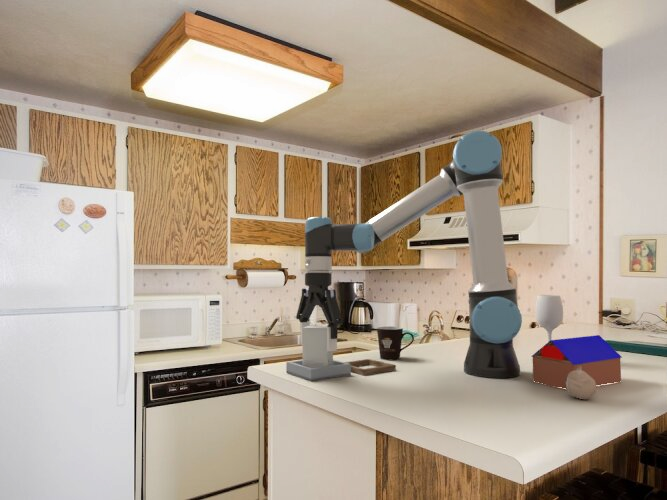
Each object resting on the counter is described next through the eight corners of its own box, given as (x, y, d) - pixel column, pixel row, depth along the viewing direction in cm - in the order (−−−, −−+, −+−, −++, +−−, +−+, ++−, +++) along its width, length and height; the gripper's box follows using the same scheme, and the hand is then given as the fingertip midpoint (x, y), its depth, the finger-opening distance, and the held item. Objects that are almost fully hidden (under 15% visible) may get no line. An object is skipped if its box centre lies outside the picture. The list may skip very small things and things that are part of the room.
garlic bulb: (559, 397, 107) (558, 361, 107) (576, 393, 110) (575, 359, 110) (587, 404, 101) (586, 366, 102) (604, 400, 104) (603, 363, 105)
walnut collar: (395, 370, 137) (395, 365, 137) (363, 375, 130) (363, 369, 130) (369, 363, 146) (369, 358, 146) (338, 368, 140) (338, 363, 140)
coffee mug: (371, 358, 156) (371, 327, 157) (388, 355, 162) (388, 325, 162) (398, 363, 148) (398, 330, 148) (415, 359, 153) (415, 328, 154)
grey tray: (350, 374, 130) (350, 364, 130) (310, 381, 123) (310, 369, 123) (324, 367, 141) (324, 357, 141) (286, 372, 133) (286, 361, 134)
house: (623, 383, 121) (621, 337, 122) (574, 393, 112) (572, 343, 112) (579, 374, 132) (578, 332, 132) (531, 382, 122) (530, 337, 123)
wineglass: (570, 363, 146) (568, 295, 147) (542, 363, 146) (540, 295, 147) (557, 358, 155) (556, 294, 156) (531, 358, 155) (529, 294, 156)
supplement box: (327, 375, 127) (327, 328, 128) (301, 373, 129) (301, 327, 130) (333, 369, 135) (333, 325, 135) (308, 368, 136) (308, 324, 137)
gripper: (285, 272, 141) (284, 343, 140) (332, 271, 121) (332, 355, 120) (306, 272, 146) (306, 341, 145) (355, 271, 125) (355, 352, 124)
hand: (318, 347), depth 132 cm, fingers open, 13 cm apart
